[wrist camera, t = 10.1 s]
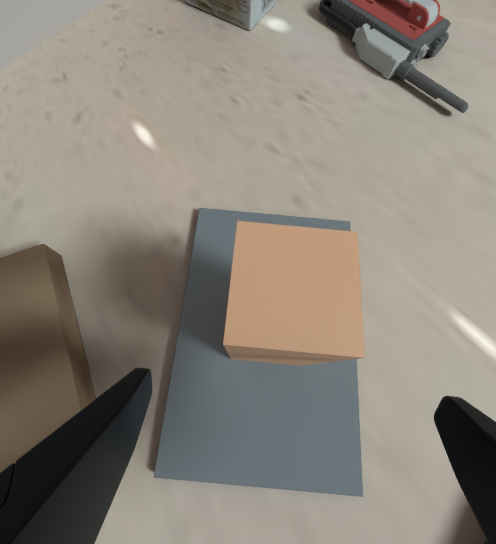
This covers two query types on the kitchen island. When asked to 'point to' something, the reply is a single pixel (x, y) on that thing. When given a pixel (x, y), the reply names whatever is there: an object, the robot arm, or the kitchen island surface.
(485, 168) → the kitchen island surface
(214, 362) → the slate grey mat
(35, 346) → the plate
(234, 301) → the terracotta block
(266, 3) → the coffee box
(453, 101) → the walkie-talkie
